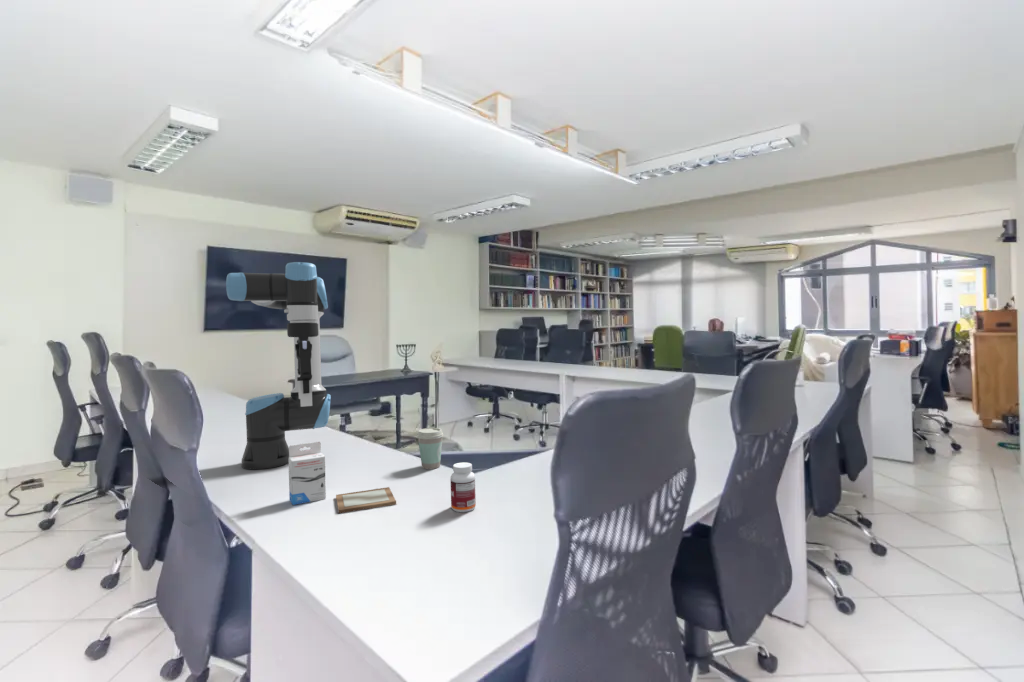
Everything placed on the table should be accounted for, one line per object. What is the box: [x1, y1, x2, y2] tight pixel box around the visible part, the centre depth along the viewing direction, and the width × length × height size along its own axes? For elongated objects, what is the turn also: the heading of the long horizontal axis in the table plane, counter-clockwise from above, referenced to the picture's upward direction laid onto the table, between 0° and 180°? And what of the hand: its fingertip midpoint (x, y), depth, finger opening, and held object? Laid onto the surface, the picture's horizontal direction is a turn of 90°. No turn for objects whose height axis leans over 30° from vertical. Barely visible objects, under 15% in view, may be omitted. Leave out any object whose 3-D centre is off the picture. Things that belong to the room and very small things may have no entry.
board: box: [335, 486, 397, 514], centre depth 126 cm, size 12×14×1 cm
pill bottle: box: [450, 462, 477, 513], centre depth 120 cm, size 6×6×11 cm
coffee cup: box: [416, 427, 444, 470], centre depth 156 cm, size 8×9×12 cm
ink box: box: [288, 441, 327, 506], centre depth 128 cm, size 8×5×15 cm, turn 123°
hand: (305, 402), depth 127 cm, fingers open, 13 cm apart
